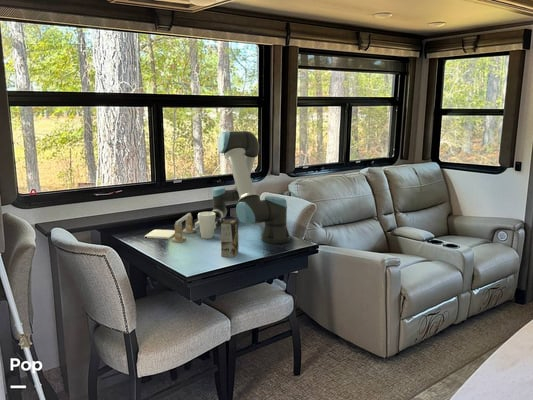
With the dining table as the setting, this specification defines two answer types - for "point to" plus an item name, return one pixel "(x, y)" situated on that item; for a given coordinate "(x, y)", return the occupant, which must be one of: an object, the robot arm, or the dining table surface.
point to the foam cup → (206, 224)
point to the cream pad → (161, 234)
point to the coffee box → (229, 238)
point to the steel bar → (183, 218)
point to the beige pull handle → (178, 230)
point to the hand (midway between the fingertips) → (204, 226)
